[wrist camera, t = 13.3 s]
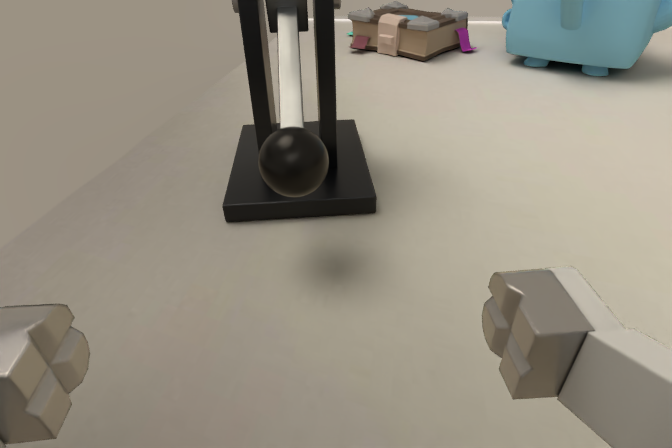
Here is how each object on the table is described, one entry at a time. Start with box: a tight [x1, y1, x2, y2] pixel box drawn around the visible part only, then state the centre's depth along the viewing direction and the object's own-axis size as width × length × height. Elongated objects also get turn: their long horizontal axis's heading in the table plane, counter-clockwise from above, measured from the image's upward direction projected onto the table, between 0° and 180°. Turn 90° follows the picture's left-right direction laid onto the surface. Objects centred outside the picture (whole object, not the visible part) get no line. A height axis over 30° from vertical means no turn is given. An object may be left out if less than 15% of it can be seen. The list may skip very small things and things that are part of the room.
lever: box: [258, 0, 329, 197], centre depth 22 cm, size 14×3×3 cm, turn 5°
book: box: [347, 1, 476, 61], centre depth 57 cm, size 20×12×5 cm, turn 48°
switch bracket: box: [223, 0, 376, 222], centre depth 27 cm, size 12×9×13 cm
